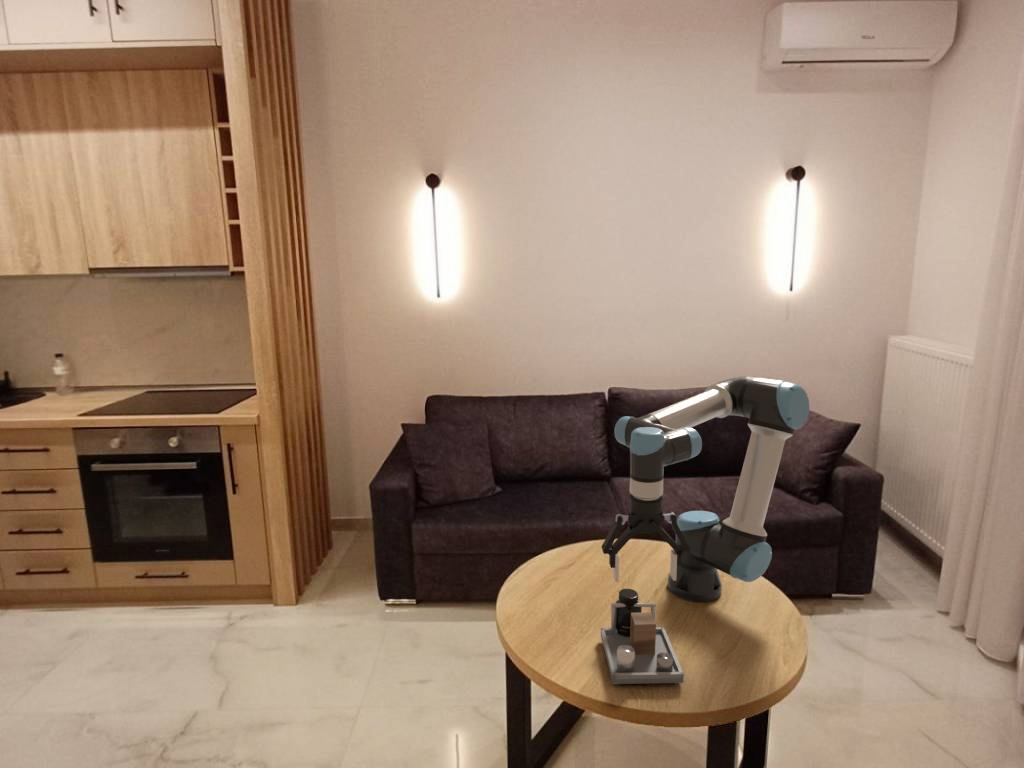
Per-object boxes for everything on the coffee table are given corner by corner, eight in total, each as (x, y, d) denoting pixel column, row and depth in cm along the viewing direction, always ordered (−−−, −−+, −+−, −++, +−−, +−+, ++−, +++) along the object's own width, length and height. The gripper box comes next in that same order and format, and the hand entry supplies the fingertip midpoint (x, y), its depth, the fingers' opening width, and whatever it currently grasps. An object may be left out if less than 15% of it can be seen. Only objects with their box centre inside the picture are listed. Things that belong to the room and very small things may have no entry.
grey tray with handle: (663, 638, 157) (664, 601, 154) (683, 687, 139) (684, 645, 137) (600, 640, 157) (601, 602, 154) (612, 688, 139) (613, 647, 137)
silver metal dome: (670, 663, 143) (670, 652, 143) (674, 674, 140) (674, 662, 139) (654, 664, 143) (655, 652, 143) (658, 674, 140) (659, 662, 139)
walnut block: (655, 654, 147) (655, 624, 145) (634, 654, 147) (634, 624, 145) (650, 641, 152) (651, 612, 150) (630, 641, 152) (630, 612, 150)
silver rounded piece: (632, 664, 143) (632, 644, 142) (635, 675, 140) (636, 655, 139) (615, 664, 143) (615, 645, 142) (618, 675, 140) (618, 656, 139)
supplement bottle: (624, 646, 153) (625, 603, 151) (608, 632, 159) (608, 590, 156) (646, 638, 156) (647, 595, 154) (629, 625, 162) (630, 583, 160)
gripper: (695, 486, 145) (692, 569, 149) (590, 489, 145) (590, 571, 149) (705, 499, 138) (701, 585, 142) (594, 502, 138) (594, 588, 142)
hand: (644, 578), depth 146 cm, fingers open, 13 cm apart
